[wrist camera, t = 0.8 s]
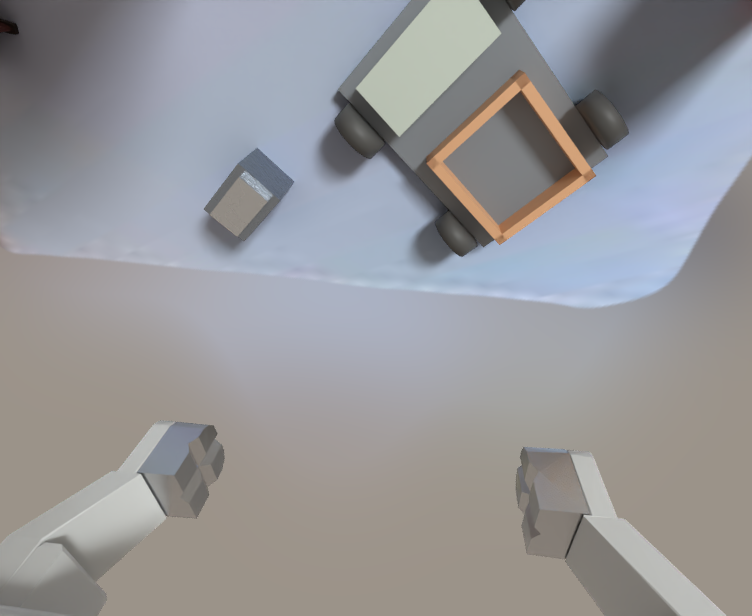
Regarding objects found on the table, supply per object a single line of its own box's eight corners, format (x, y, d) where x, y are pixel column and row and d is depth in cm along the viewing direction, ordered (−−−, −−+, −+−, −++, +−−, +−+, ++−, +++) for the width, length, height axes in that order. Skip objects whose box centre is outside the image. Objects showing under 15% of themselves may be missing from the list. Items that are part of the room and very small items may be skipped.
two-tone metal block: (224, 189, 41) (199, 212, 36) (257, 147, 38) (234, 166, 33) (260, 219, 42) (240, 245, 38) (294, 181, 39) (277, 203, 35)
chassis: (328, 101, 35) (317, 111, 31) (480, -83, 27) (489, -98, 24) (469, 251, 42) (474, 272, 39) (620, 139, 34) (643, 153, 31)
